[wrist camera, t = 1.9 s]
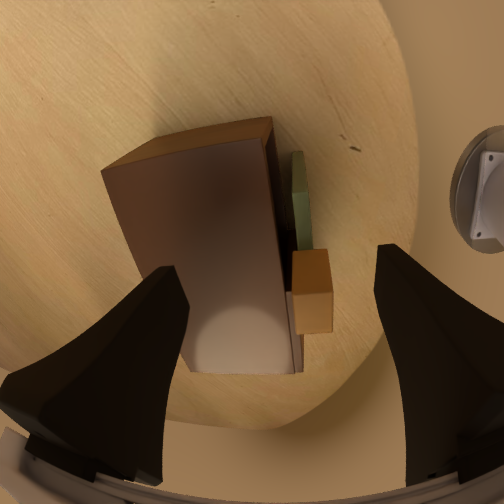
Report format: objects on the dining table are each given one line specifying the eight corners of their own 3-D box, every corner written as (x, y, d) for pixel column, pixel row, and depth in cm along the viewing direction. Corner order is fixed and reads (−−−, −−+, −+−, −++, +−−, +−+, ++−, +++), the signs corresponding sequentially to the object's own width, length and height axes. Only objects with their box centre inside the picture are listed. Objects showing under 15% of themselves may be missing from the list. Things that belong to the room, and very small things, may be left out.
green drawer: (313, 149, 17) (332, 225, 9) (321, 257, 22) (331, 369, 14) (287, 152, 18) (283, 229, 10) (300, 258, 22) (299, 370, 14)
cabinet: (281, 114, 17) (276, 135, 11) (303, 309, 25) (303, 374, 20) (153, 138, 18) (99, 170, 13) (208, 313, 27) (190, 372, 21)
